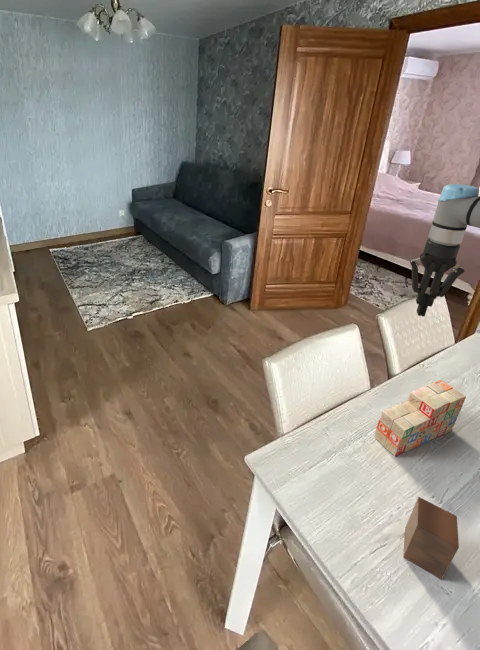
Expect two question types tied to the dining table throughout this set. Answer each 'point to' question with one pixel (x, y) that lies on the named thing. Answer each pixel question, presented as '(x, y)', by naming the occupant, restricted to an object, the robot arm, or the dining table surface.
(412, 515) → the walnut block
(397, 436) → the stack of blocks
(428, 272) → the robot arm
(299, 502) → the dining table surface
